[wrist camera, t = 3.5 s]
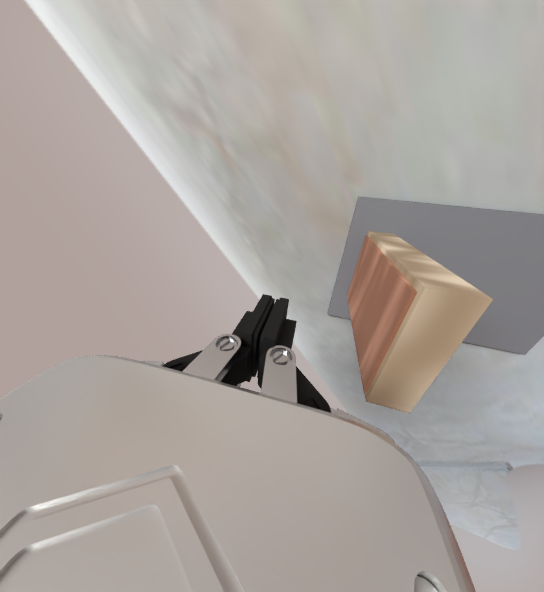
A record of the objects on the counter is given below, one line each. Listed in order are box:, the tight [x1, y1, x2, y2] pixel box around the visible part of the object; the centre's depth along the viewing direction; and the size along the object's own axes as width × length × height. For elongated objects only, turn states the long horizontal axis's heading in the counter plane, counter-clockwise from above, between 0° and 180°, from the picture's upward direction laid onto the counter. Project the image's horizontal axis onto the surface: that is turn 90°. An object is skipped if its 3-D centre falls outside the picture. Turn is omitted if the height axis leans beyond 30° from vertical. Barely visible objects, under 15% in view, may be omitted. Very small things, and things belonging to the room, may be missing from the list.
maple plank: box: [347, 231, 493, 413], centre depth 16 cm, size 3×8×14 cm, turn 175°
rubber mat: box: [328, 197, 544, 354], centre depth 21 cm, size 22×14×1 cm, turn 85°
